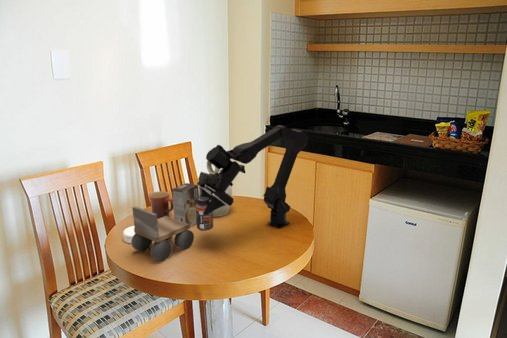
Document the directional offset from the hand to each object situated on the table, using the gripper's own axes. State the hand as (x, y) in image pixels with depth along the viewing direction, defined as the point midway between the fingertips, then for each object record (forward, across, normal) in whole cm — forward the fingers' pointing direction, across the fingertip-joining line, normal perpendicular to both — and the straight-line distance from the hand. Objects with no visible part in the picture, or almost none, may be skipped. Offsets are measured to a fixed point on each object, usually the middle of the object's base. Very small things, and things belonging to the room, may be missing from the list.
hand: (200, 211), depth 137 cm
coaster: (+22, -20, -3) cm, 30 cm away
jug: (-3, -26, +22) cm, 35 cm away
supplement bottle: (+4, 0, +6) cm, 7 cm away
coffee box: (+7, -21, +12) cm, 25 cm away
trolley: (+18, -6, 0) cm, 19 cm away
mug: (+12, -33, +7) cm, 36 cm away
